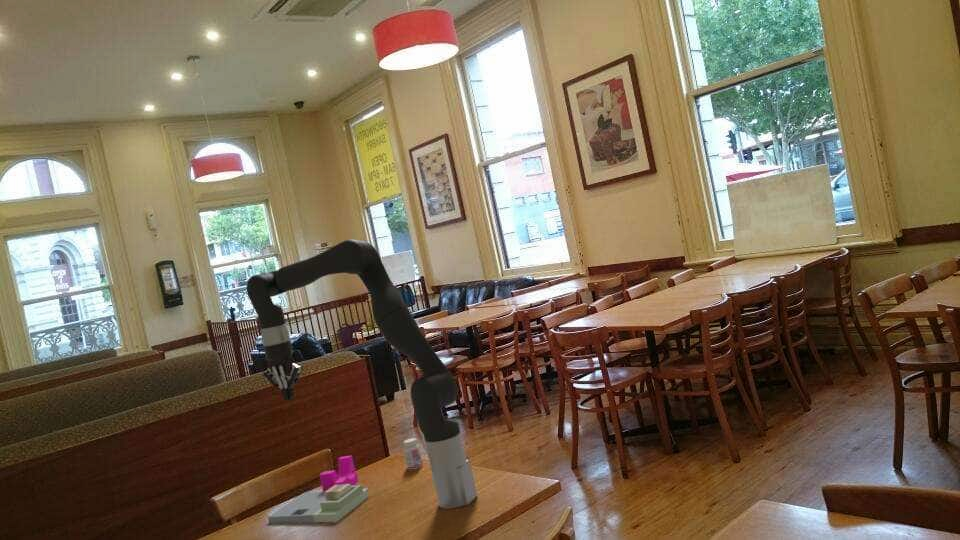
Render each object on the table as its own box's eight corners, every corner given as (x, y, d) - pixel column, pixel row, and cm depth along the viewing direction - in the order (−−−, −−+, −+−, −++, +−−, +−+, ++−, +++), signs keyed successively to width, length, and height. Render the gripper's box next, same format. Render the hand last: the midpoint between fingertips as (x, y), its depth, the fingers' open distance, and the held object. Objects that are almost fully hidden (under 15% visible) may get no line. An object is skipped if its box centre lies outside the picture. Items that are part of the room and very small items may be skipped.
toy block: (345, 497, 192) (339, 472, 192) (325, 500, 193) (319, 474, 193) (364, 477, 207) (359, 454, 206) (346, 480, 208) (340, 456, 208)
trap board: (370, 497, 187) (366, 481, 187) (337, 523, 172) (333, 506, 172) (306, 500, 196) (303, 485, 195) (269, 526, 181) (266, 509, 181)
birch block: (353, 496, 183) (350, 483, 183) (342, 504, 178) (339, 491, 178) (337, 497, 185) (335, 484, 185) (327, 505, 180) (324, 492, 180)
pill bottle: (417, 470, 202) (411, 442, 202) (404, 470, 205) (398, 443, 205) (426, 464, 206) (420, 437, 206) (414, 464, 209) (408, 437, 209)
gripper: (303, 336, 195) (315, 394, 196) (267, 341, 200) (279, 398, 201) (286, 341, 188) (299, 402, 189) (249, 347, 193) (262, 406, 194)
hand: (289, 400), depth 195 cm, fingers closed
